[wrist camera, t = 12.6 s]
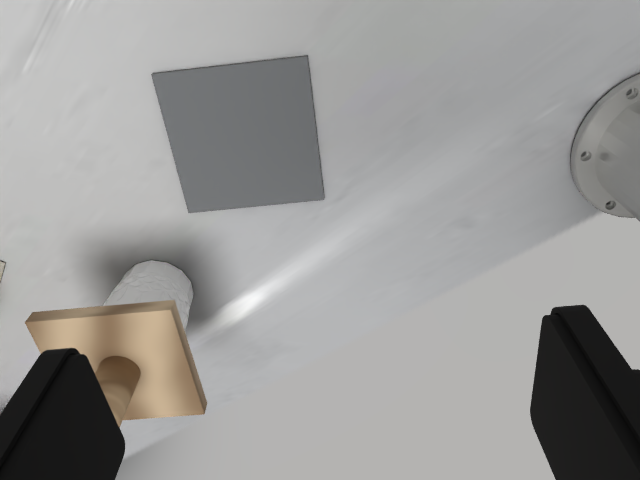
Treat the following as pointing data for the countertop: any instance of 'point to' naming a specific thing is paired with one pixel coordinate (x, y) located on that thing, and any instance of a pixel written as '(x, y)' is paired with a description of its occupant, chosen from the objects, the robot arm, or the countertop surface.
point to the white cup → (154, 287)
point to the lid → (129, 355)
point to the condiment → (1, 268)
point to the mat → (242, 133)
